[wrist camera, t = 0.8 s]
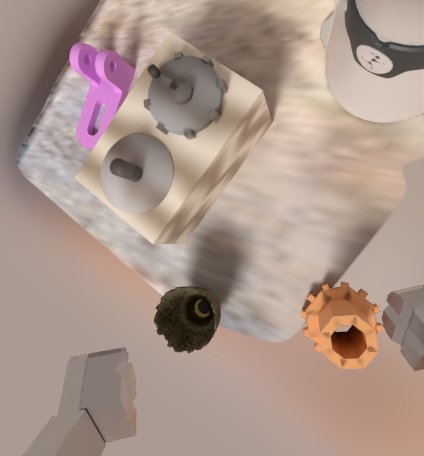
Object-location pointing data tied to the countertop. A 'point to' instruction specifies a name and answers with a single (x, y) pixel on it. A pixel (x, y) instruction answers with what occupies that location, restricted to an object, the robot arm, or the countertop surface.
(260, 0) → the countertop surface
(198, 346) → the cup
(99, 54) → the bracket
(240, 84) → the gearbox
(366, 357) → the orange gear
